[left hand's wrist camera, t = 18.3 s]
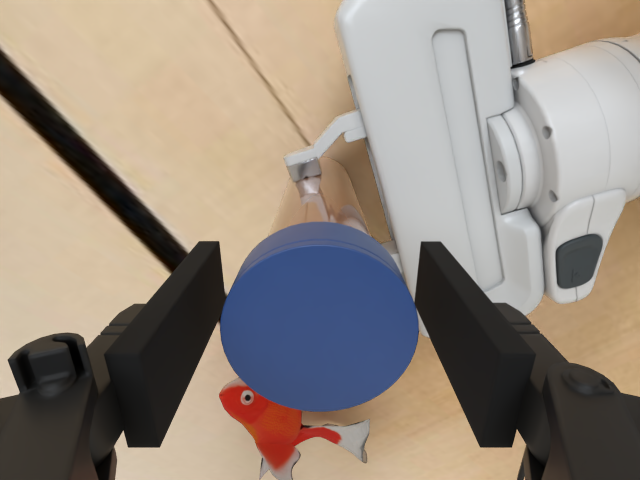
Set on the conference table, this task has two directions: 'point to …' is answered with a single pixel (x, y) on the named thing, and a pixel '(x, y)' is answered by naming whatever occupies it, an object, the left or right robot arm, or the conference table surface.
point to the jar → (321, 200)
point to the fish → (284, 429)
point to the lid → (319, 318)
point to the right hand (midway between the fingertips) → (305, 217)
